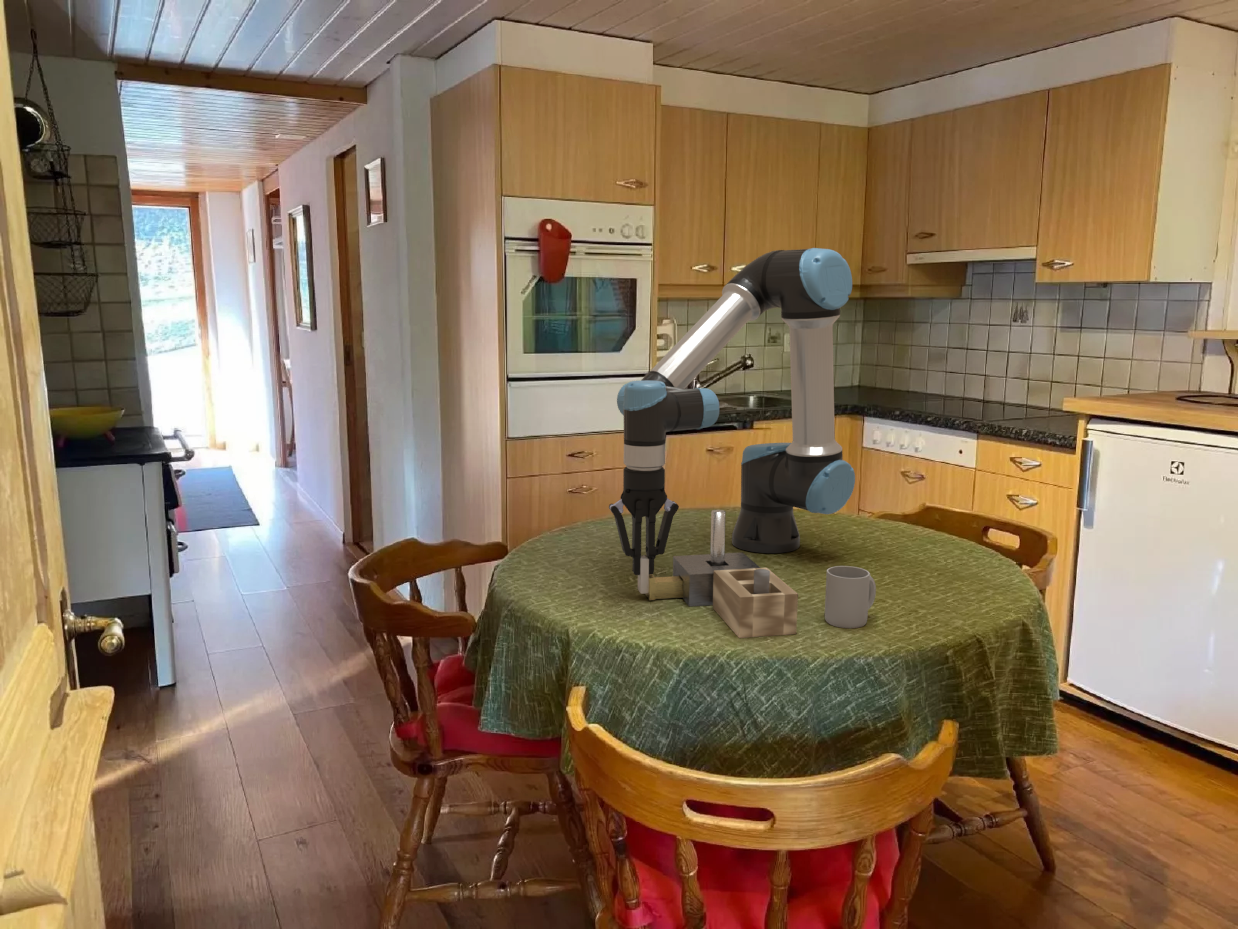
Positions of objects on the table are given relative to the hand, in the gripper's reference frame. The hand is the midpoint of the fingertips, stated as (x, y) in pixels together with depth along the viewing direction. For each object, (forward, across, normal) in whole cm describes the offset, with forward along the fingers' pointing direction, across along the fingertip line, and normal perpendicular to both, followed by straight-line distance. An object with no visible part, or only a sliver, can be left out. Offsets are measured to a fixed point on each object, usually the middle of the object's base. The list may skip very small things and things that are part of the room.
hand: (643, 590), depth 172 cm
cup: (+2, -33, +18) cm, 38 cm away
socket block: (+1, -14, 0) cm, 14 cm away
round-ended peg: (+1, -14, 0) cm, 14 cm away
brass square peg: (+1, -6, 0) cm, 6 cm away
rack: (+1, -16, +15) cm, 22 cm away
